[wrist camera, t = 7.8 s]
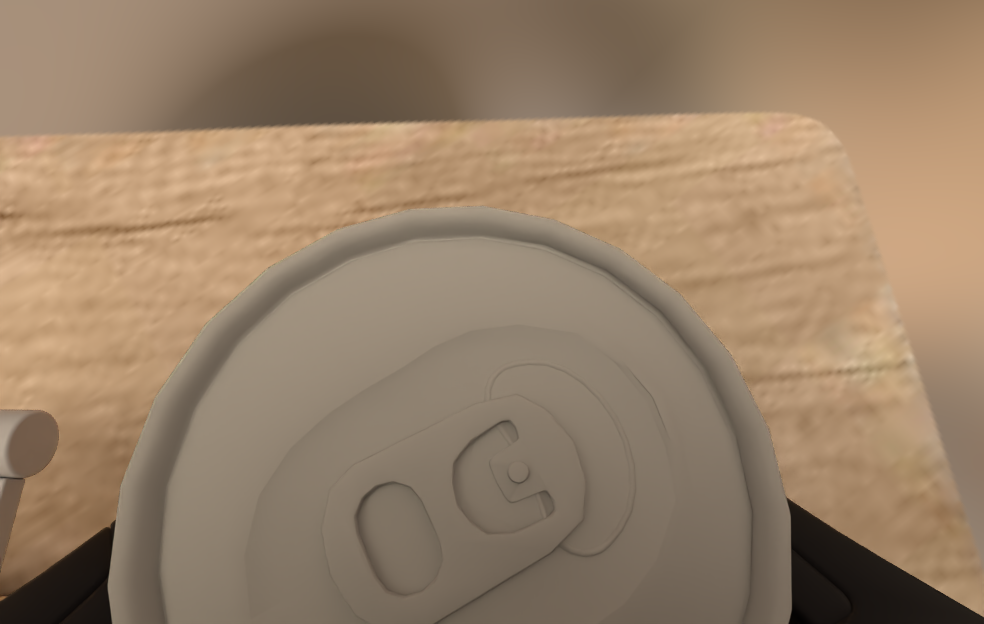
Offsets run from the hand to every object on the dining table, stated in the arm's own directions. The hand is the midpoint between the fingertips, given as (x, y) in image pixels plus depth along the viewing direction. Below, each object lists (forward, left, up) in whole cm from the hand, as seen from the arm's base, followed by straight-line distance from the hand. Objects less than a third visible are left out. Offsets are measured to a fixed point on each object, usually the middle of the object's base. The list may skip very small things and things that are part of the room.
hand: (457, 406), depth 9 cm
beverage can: (-1, 0, -7) cm, 7 cm away
